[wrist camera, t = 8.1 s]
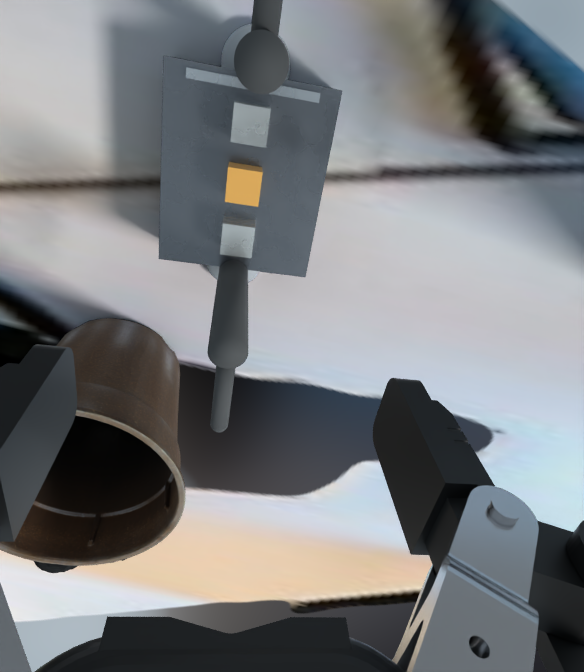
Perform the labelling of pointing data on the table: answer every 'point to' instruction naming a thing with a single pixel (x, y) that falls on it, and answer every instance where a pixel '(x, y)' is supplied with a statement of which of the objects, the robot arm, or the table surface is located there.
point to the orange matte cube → (243, 184)
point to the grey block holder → (244, 148)
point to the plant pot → (111, 453)
